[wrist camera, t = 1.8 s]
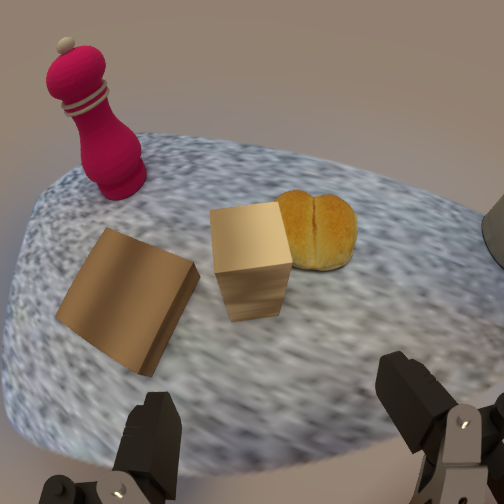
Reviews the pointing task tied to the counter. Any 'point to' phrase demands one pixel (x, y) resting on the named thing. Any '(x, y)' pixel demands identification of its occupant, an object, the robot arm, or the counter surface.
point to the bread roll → (318, 229)
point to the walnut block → (128, 299)
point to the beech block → (251, 259)
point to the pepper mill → (96, 120)
